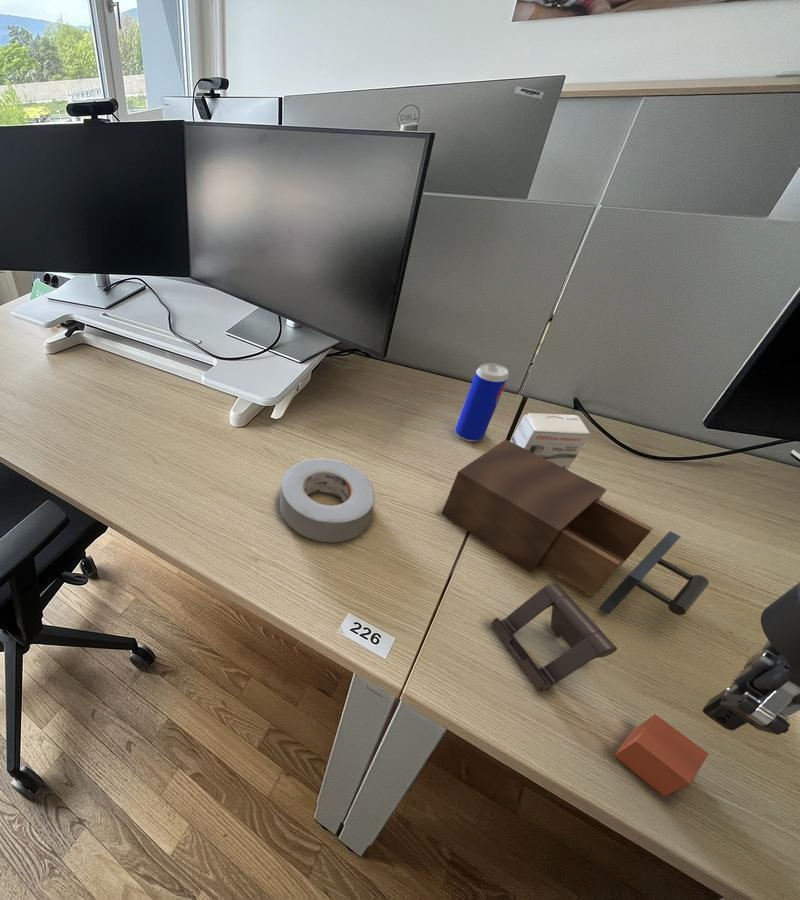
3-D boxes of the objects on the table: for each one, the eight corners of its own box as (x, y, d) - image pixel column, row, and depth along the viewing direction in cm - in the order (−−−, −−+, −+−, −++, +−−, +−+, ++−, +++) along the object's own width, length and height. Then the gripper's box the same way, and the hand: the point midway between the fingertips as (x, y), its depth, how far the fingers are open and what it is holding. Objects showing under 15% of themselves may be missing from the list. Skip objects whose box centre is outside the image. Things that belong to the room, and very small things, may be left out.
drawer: (691, 596, 63) (730, 561, 57) (653, 644, 58) (691, 611, 53) (548, 514, 75) (569, 479, 70) (507, 549, 70) (527, 514, 65)
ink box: (507, 482, 82) (534, 429, 75) (498, 463, 86) (522, 411, 78) (561, 485, 81) (594, 432, 73) (549, 466, 85) (579, 413, 77)
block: (682, 767, 49) (709, 753, 46) (663, 796, 47) (690, 784, 45) (632, 729, 52) (655, 713, 49) (613, 755, 50) (635, 740, 47)
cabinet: (575, 533, 73) (606, 489, 67) (531, 573, 68) (560, 530, 62) (486, 481, 83) (505, 439, 76) (441, 513, 78) (458, 471, 71)
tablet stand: (487, 625, 62) (509, 590, 57) (539, 613, 63) (566, 577, 58) (536, 691, 56) (566, 659, 50) (593, 677, 57) (630, 643, 51)
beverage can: (484, 444, 90) (513, 378, 81) (455, 441, 92) (480, 375, 82) (480, 428, 94) (507, 363, 84) (453, 425, 95) (476, 361, 86)
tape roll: (374, 488, 83) (380, 467, 80) (364, 553, 73) (369, 532, 69) (290, 470, 88) (292, 450, 85) (269, 529, 78) (270, 508, 74)
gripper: (944, 724, 27) (743, 805, 38) (989, 608, 32) (800, 709, 43) (769, 626, 32) (636, 723, 43) (832, 539, 37) (698, 645, 48)
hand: (718, 716), depth 43 cm, fingers closed
